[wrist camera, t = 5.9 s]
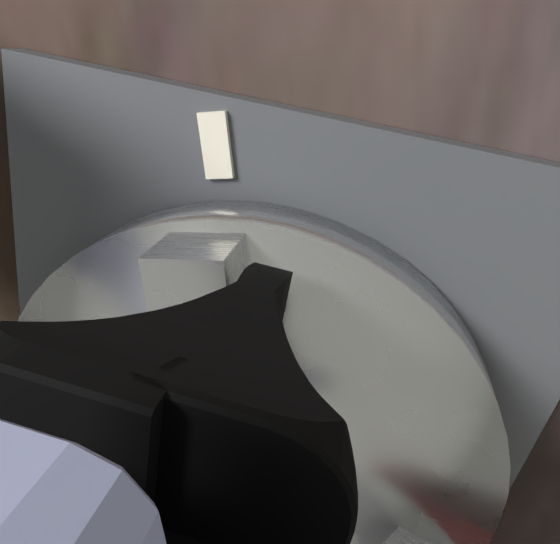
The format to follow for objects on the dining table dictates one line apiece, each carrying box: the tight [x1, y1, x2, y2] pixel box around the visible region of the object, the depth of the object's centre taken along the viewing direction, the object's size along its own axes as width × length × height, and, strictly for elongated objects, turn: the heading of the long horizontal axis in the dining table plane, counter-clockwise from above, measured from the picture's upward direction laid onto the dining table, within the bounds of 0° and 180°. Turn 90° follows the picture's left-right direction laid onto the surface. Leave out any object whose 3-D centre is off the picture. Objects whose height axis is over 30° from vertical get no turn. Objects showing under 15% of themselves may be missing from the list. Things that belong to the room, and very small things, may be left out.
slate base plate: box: [1, 48, 560, 490], centre depth 18 cm, size 18×21×1 cm
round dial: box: [18, 200, 511, 544], centre depth 15 cm, size 16×16×4 cm
